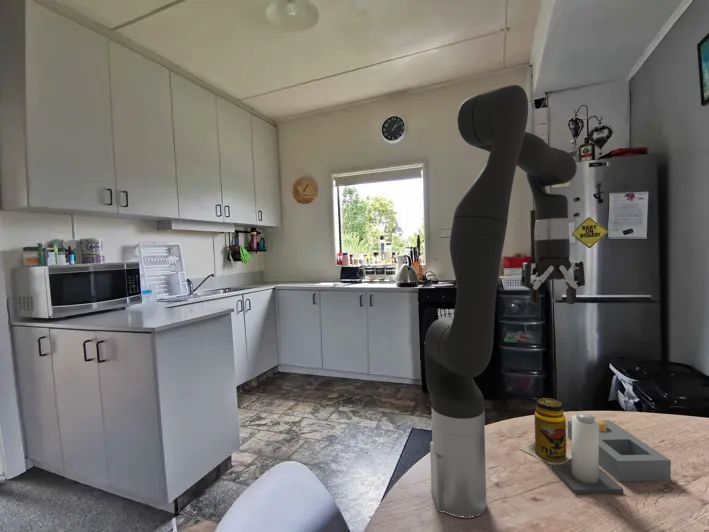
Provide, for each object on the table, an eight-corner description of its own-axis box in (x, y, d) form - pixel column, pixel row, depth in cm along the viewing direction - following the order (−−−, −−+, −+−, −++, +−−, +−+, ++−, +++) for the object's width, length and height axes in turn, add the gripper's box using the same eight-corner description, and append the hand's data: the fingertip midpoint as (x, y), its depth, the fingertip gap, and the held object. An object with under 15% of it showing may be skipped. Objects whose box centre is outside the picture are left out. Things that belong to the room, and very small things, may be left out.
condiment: (556, 468, 74) (555, 411, 74) (519, 449, 81) (518, 398, 81) (575, 457, 78) (574, 402, 77) (538, 440, 85) (537, 390, 85)
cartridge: (579, 483, 68) (580, 421, 67) (567, 469, 72) (567, 410, 71) (603, 483, 67) (604, 421, 67) (589, 469, 72) (589, 410, 71)
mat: (574, 493, 66) (573, 489, 66) (551, 468, 74) (551, 464, 74) (623, 493, 66) (623, 489, 66) (595, 467, 74) (595, 463, 74)
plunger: (595, 447, 81) (595, 425, 81) (587, 440, 84) (586, 419, 84) (610, 447, 81) (609, 425, 81) (600, 439, 84) (600, 419, 84)
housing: (618, 481, 69) (617, 461, 69) (567, 437, 86) (567, 420, 86) (670, 480, 69) (670, 460, 69) (609, 436, 86) (609, 420, 86)
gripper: (529, 238, 83) (530, 307, 84) (591, 236, 83) (592, 305, 83) (515, 240, 91) (517, 303, 91) (572, 238, 90) (573, 301, 91)
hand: (552, 304), depth 87 cm, fingers open, 8 cm apart
